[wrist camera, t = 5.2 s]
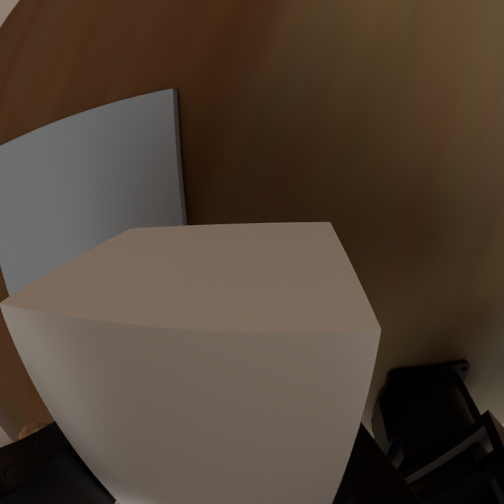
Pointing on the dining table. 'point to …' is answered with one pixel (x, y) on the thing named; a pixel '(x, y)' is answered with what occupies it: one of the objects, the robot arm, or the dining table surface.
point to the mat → (88, 183)
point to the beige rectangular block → (204, 361)
